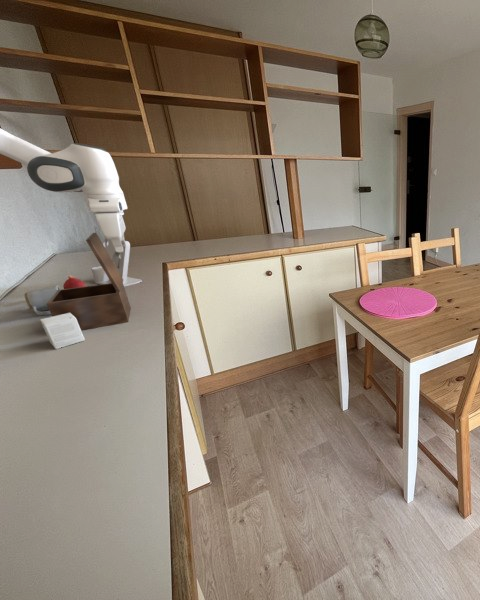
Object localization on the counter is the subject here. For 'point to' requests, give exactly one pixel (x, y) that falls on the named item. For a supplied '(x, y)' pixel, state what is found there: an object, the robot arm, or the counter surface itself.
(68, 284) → the onion
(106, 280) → the phone holder
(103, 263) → the lid
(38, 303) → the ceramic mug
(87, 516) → the counter surface
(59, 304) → the storage box
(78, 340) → the white slanted block
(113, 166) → the robot arm
